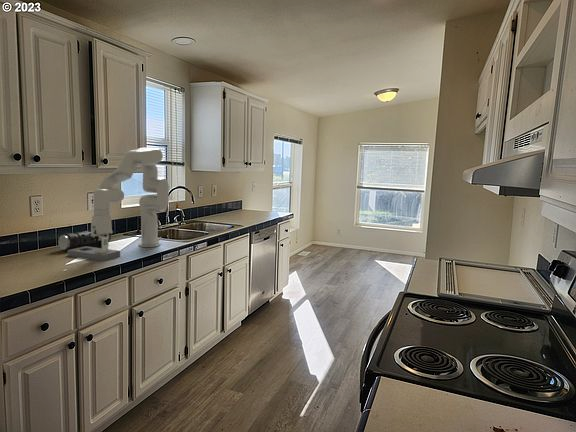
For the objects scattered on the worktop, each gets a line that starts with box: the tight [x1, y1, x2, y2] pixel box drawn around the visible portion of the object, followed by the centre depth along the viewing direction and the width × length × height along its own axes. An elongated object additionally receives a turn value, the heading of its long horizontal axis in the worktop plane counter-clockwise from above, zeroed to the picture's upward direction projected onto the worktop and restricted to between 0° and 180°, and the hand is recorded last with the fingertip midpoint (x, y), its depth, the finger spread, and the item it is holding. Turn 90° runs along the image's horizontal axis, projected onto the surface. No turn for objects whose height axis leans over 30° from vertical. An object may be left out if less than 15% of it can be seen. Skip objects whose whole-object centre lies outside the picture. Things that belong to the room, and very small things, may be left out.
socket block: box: [66, 246, 121, 262], centre depth 206 cm, size 12×24×4 cm, turn 70°
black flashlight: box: [57, 230, 112, 251], centre depth 226 cm, size 10×28×10 cm, turn 154°
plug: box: [96, 236, 109, 253], centre depth 204 cm, size 4×5×9 cm
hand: (102, 246), depth 204 cm, fingers closed on plug, 4 cm apart
